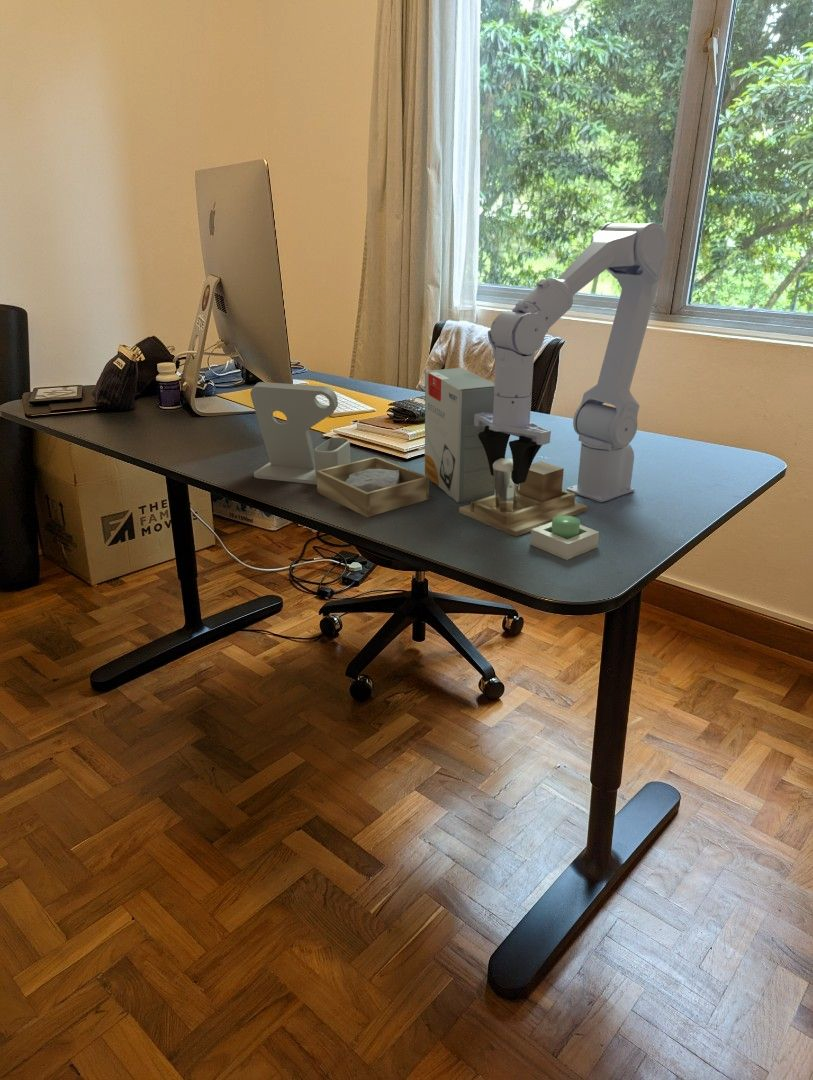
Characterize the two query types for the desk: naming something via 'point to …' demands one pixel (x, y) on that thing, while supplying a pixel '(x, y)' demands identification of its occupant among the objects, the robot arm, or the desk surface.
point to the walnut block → (542, 482)
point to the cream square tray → (564, 541)
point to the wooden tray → (376, 501)
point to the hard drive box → (457, 433)
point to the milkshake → (505, 486)
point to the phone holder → (296, 431)
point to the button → (565, 526)
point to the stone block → (374, 479)
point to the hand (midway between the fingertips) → (508, 478)
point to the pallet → (523, 512)
